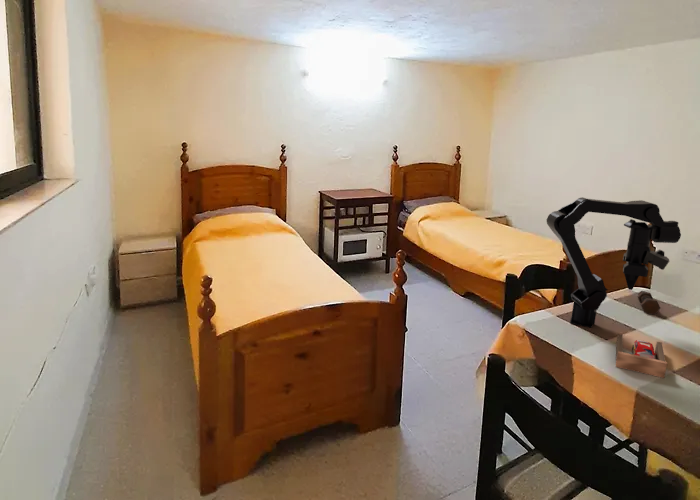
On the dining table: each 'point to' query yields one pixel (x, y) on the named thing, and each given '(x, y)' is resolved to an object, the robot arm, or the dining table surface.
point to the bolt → (648, 302)
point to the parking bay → (641, 360)
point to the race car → (643, 349)
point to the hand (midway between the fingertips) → (630, 289)
